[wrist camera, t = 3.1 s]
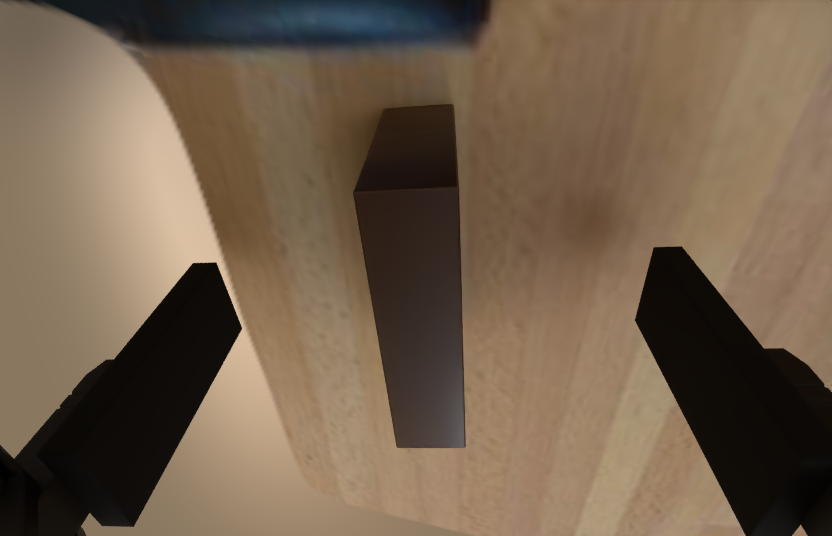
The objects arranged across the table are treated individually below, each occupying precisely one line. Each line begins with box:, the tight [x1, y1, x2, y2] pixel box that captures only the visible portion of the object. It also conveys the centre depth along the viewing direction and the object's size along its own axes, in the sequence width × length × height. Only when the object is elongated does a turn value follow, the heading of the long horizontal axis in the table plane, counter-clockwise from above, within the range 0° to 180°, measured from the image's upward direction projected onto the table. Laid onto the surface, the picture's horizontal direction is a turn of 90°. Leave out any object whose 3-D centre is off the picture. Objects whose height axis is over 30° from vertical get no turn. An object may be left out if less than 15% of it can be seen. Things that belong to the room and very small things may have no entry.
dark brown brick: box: [353, 104, 466, 448], centre depth 14 cm, size 2×9×6 cm, turn 4°
